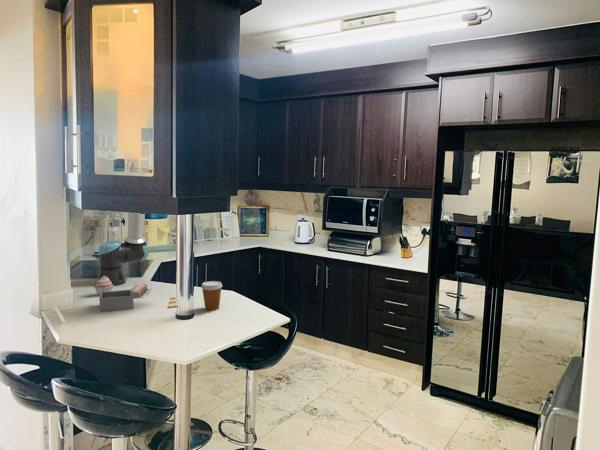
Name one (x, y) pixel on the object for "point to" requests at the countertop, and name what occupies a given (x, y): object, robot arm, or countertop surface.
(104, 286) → the cupcake
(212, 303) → the disposable coffee cup
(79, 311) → the countertop surface
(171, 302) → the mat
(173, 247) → the lid
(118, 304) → the tub
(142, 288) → the packaged product
